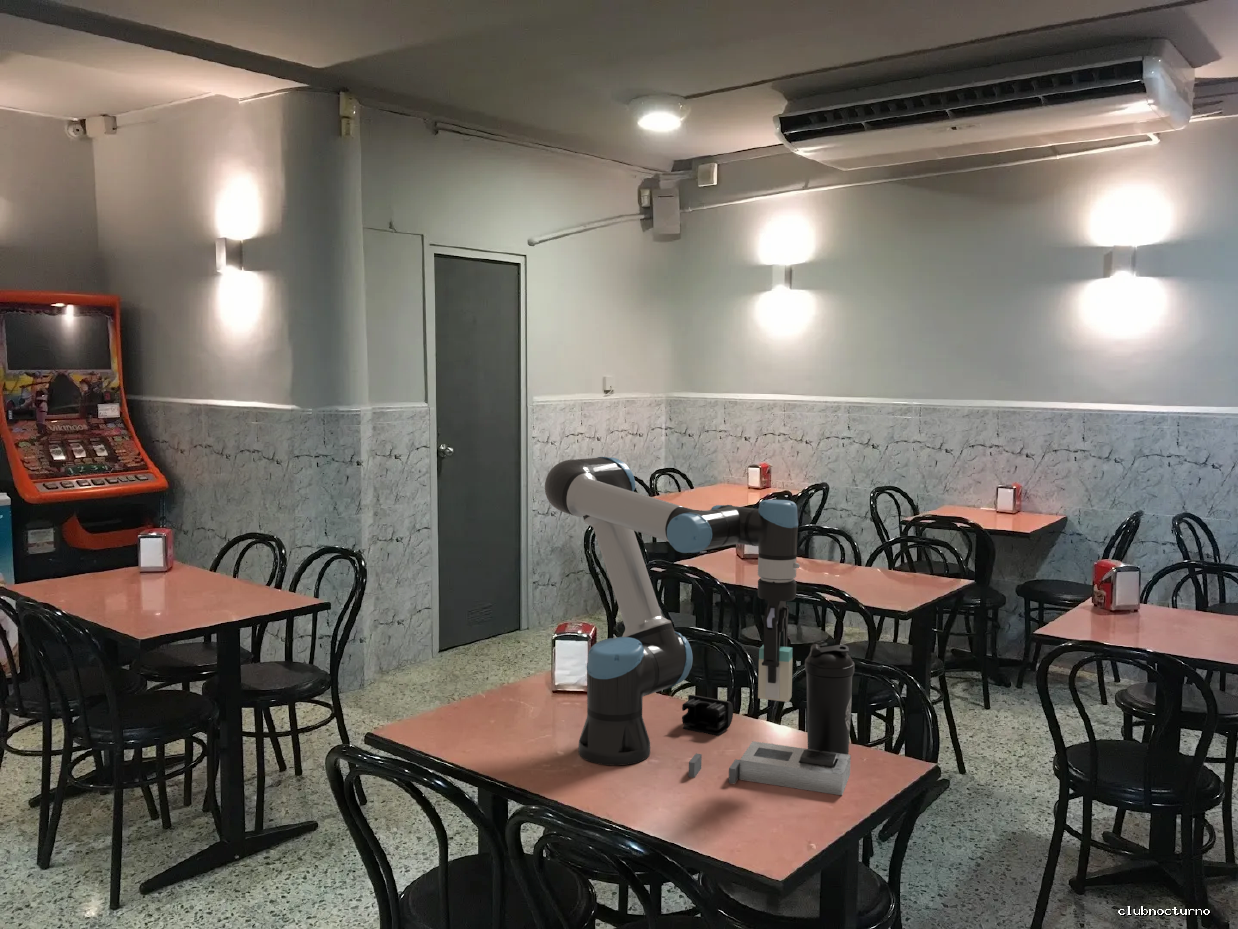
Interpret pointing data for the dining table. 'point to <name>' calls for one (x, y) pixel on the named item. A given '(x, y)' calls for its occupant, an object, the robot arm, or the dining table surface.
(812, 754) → the panel
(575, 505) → the robot arm
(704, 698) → the end cap
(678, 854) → the dining table surface
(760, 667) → the plug
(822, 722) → the water bottle
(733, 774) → the pair of grey blocks
